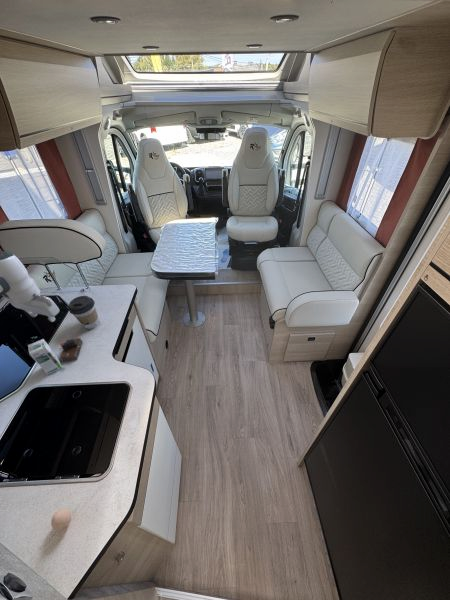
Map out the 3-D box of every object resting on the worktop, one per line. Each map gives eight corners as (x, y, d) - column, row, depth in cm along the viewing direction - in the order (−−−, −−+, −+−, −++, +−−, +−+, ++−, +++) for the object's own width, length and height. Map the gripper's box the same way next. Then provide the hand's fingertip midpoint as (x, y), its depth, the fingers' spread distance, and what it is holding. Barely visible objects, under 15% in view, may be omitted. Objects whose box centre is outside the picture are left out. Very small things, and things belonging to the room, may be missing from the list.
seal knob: (75, 343, 114) (72, 338, 112) (76, 345, 113) (73, 340, 111) (63, 349, 112) (60, 344, 110) (64, 351, 111) (61, 346, 109)
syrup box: (47, 375, 106) (28, 354, 96) (45, 365, 110) (27, 344, 100) (62, 368, 108) (45, 347, 99) (59, 359, 112) (43, 337, 102)
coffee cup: (75, 332, 124) (61, 310, 114) (86, 315, 132) (74, 293, 122) (97, 332, 123) (85, 310, 113) (107, 316, 131) (96, 294, 121)
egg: (66, 533, 69) (56, 531, 65) (53, 527, 70) (42, 524, 66) (77, 513, 72) (69, 509, 68) (64, 508, 73) (55, 504, 69)
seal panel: (81, 359, 112) (78, 354, 109) (59, 362, 111) (55, 358, 109) (86, 341, 119) (83, 337, 117) (66, 344, 118) (62, 340, 116)
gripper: (53, 291, 93) (70, 317, 102) (12, 282, 98) (31, 308, 107) (39, 302, 88) (57, 329, 98) (-4, 292, 93) (18, 318, 103)
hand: (43, 318), depth 102 cm, fingers open, 8 cm apart
